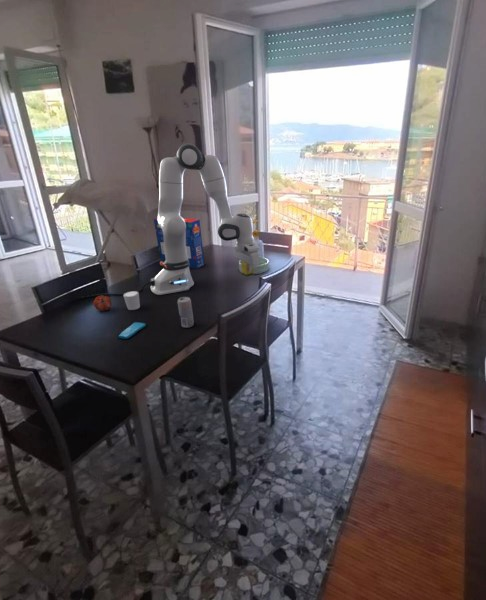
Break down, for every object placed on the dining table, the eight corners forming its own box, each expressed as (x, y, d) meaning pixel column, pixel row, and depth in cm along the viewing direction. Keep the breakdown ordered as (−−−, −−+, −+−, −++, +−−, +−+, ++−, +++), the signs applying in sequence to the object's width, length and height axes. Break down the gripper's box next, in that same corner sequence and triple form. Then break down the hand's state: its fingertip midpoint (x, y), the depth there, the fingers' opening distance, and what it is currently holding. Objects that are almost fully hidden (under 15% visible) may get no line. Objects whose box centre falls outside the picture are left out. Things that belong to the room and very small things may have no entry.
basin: (248, 277, 199) (248, 268, 196) (233, 268, 212) (233, 260, 210) (274, 270, 207) (274, 262, 205) (258, 262, 221) (258, 254, 219)
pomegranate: (95, 314, 167) (92, 309, 157) (94, 299, 168) (91, 293, 159) (112, 312, 169) (110, 308, 160) (112, 298, 171) (109, 292, 162)
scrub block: (246, 276, 192) (245, 264, 189) (242, 274, 196) (241, 262, 193) (253, 274, 194) (252, 262, 192) (249, 272, 198) (248, 260, 195)
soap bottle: (263, 260, 223) (262, 221, 213) (249, 261, 224) (247, 222, 213) (264, 256, 232) (262, 218, 221) (250, 256, 232) (248, 219, 222)
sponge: (114, 335, 141) (125, 336, 139) (134, 321, 152) (145, 322, 149) (115, 338, 142) (126, 339, 140) (135, 324, 152) (146, 325, 150)
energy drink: (188, 320, 153) (185, 295, 148) (196, 324, 150) (193, 298, 145) (178, 325, 149) (174, 299, 144) (186, 329, 146) (182, 303, 141)
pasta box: (204, 264, 220) (199, 219, 208) (196, 268, 214) (191, 222, 202) (169, 259, 232) (162, 216, 220) (161, 263, 225) (153, 219, 213)
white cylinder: (125, 311, 163) (122, 297, 160) (126, 305, 169) (123, 292, 166) (141, 309, 165) (138, 295, 162) (141, 303, 171) (139, 290, 168)
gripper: (231, 241, 194) (233, 265, 200) (250, 250, 179) (252, 275, 184) (241, 239, 197) (242, 263, 203) (260, 247, 182) (262, 273, 188)
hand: (247, 269), depth 194 cm, fingers closed on scrub block, 4 cm apart
